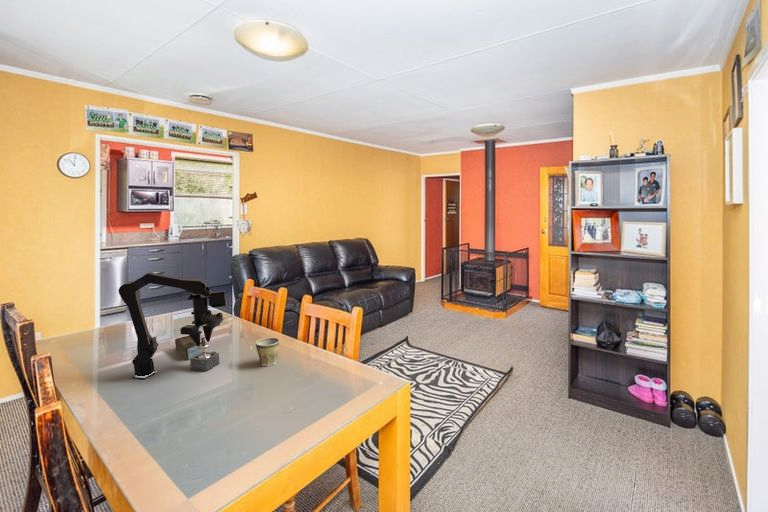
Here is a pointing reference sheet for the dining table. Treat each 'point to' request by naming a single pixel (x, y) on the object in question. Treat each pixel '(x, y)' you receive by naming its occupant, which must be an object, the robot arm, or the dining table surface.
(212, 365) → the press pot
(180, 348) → the beverage carton
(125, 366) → the dining table surface
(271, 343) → the ceramic cup
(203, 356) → the plunger
